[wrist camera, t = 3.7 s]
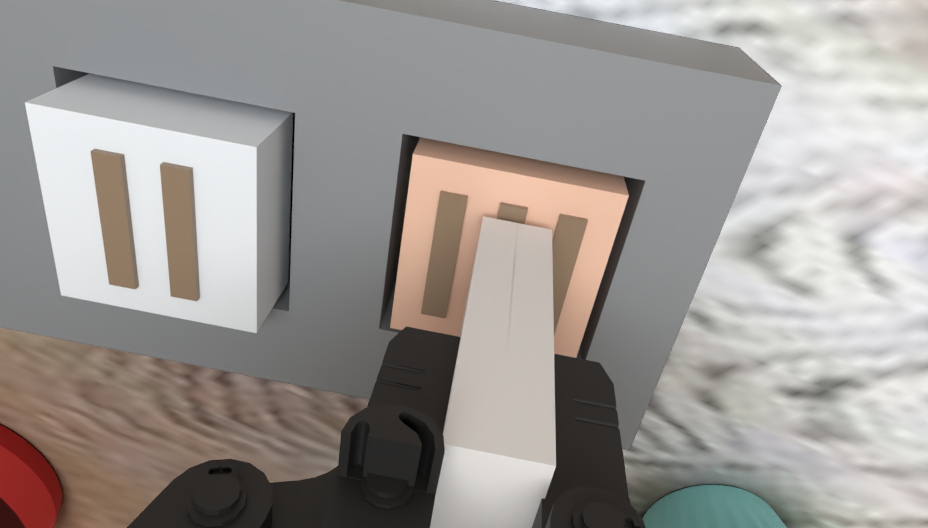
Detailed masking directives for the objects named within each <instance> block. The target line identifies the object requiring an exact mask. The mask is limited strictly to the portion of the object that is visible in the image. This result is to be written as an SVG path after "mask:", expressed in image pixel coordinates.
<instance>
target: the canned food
mask: <svg viewBox="0 0 928 528" xmlns="http://www.w3.org/2000/svg"><path fill="white" fill-rule="evenodd" d="M61 505H62V489H61V486H60V483H59V480H58V478H57V476H56V474H55V473H54V471H53V469H52V467H51V466H50V464H49V463H48V462H47V461H46V459H45V458H44V457H43V456H42V455H41V454H40V452H39V451H37V450H36V449H35V448H34V447H33V446H32V445H31V444H29V443H28V442H27V441H26V440H25V439H23V438H22V437H20V436H19V435H17V434H16V433H14V432H13V431H11V430H10V429H8V428H6V427H4V426H2V425H0V528H54V525H55V522H56V519H57V517H58V514H59V511H60V508H61Z"/></svg>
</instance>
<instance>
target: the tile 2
mask: <svg viewBox="0 0 928 528" xmlns="http://www.w3.org/2000/svg"><path fill="white" fill-rule="evenodd" d="M25 106H26V112H27V117H28V122H29V128H30V133H31V138H32V143H33V149H34V154H35V159H36V165H37V170H38V175H39V181H40V186H41V191H42V197H43V202H44V207H45V213H46V218H47V223H48V228H49V234H50V239H51V244H52V250H53V255H54V260H55V266H56V271H57V276H58V282H59V287H60V292H61V295H62V296H67V297H73V298H78V299H83V300H88V301H93V302H98V303H103V304H109V305H114V306H119V307H124V308H129V309H134V310H139V311H145V312H150V313H155V314H160V315H165V316H170V317H175V318H181V319H186V320H191V321H196V322H201V323H206V324H211V325H217V326H222V327H227V328H232V329H237V330H242V331H247V332H253V333H257V332H258V330H259V329H260V327H261V326H262V324H263V322H264V321H265V319H266V317H267V316H268V314H269V313H270V311H271V309H272V308H273V306H274V305H275V303H276V301H277V300H278V298H279V296H280V295H281V293H282V292H283V290H284V288H285V287H286V285H287V284H288V269H289V234H290V199H291V164H292V130H293V112H288V111H283V110H277V109H272V108H267V107H262V106H257V105H252V104H246V103H241V102H236V101H231V100H226V99H221V98H215V97H210V96H205V95H200V94H195V93H189V92H184V91H179V90H174V89H169V88H164V87H158V86H153V85H148V84H143V83H138V82H133V81H127V80H122V79H117V78H112V77H107V76H102V75H96V74H91V73H90V74H87V75H85V76H83V77H81V78H78V79H76V80H74V81H72V82H69V83H67V84H65V85H63V86H60V87H58V88H56V89H54V90H51V91H49V92H47V93H45V94H42V95H40V96H38V97H36V98H34V99H31V100H29V101H27V102H25Z"/></svg>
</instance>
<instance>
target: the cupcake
mask: <svg viewBox="0 0 928 528" xmlns="http://www.w3.org/2000/svg"><path fill="white" fill-rule="evenodd" d="M643 521H644V524H645V527H646V528H787V527H786V526H785V524H784V523H783V522H782V521H781V519H780V518H779V517H778V515H777V514H776V513H775V511H774V510H773V509H772V508H771V506H770V505H769V504H768V503H766V502H765V501H764V500H763V499H761V498H760V497H758V496H757V495H755V494H753V493H751V492H748V491H746V490H743V489H740V488H736V487H731V486H725V485H699V486H693V487H688V488H684V489H681V490H678V491H675V492H673V493H670V494H668V495H666V496H665V497H663V498H661V499H660V500H658V501H657V502H656V503H655V504H653V505H652V506H651V507H650V508H649V509H648V511H647V512H646V513H645V515H644V517H643Z"/></svg>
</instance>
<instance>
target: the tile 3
mask: <svg viewBox="0 0 928 528" xmlns="http://www.w3.org/2000/svg"><path fill="white" fill-rule="evenodd" d="M628 197H629V194H628V191H627V187H626V183H625V179H624V176H619V175H614V174H609V173H603V172H598V171H593V170H588V169H583V168H578V167H572V166H567V165H562V164H557V163H552V162H547V161H541V160H536V159H531V158H526V157H521V156H515V155H510V154H505V153H500V152H495V151H490V150H484V149H479V148H474V147H469V146H464V145H459V144H453V143H448V142H443V141H438V140H433V139H427V138H422V137H420V139H419V142H418V144H417V146H416V148H415V150H414V152H413V157H412V164H411V172H410V179H409V187H408V195H407V202H406V210H405V218H404V225H403V233H402V241H401V248H400V256H399V264H398V271H397V279H396V286H395V294H394V302H393V309H392V317H391V325H390V328H394V329H399V330H403V329H404V328H405V327H406V326H407V327H412V328H417V329H422V330H427V331H432V332H438V333H443V334H448V335H453V336H458V337H459V336H460V330H461V325H462V319H463V314H464V309H465V304H466V299H467V294H468V289H469V285H470V280H471V275H472V270H473V265H474V260H475V255H476V250H477V245H478V240H479V235H480V230H481V225H482V220H483V216H485V217H490V218H495V219H500V220H505V221H510V222H515V223H520V224H526V225H531V226H536V227H541V228H546V229H551V230H552V254H553V313H554V354H559V355H564V356H569V357H574V358H576V357H577V354H578V351H579V348H580V345H581V342H582V339H583V336H584V332H585V329H586V326H587V323H588V320H589V317H590V314H591V311H592V308H593V305H594V302H595V299H596V295H597V292H598V289H599V286H600V283H601V280H602V277H603V274H604V271H605V268H606V265H607V262H608V259H609V255H610V252H611V249H612V246H613V243H614V240H615V237H616V234H617V231H618V228H619V225H620V222H621V218H622V215H623V212H624V209H625V206H626V203H627V200H628Z"/></svg>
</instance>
